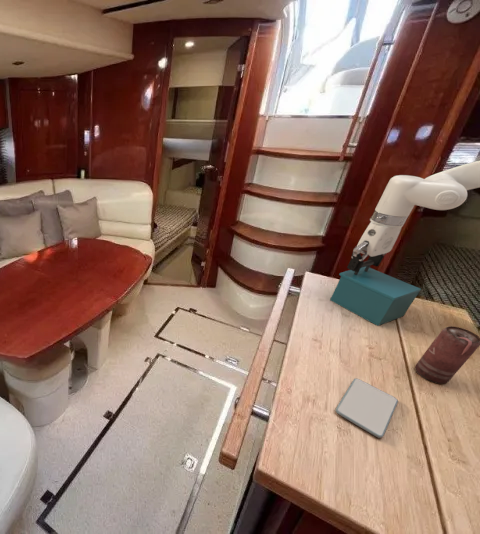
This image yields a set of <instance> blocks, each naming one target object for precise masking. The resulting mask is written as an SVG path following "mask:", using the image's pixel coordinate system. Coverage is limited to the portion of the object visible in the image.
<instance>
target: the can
mask: <svg viewBox="0 0 480 534" xmlns="http://www.w3.org/2000/svg"><path fill="white" fill-rule="evenodd" d="M479 347H480V337H479V336H478V335H477V334H476V333H474V332H472V331H471V330H468V329H465V328H462V327H458V326H454V325H453V326H451V325H450V326H447V327H444V328H442V329H441V330H440V332H439V333H438V334H437V336H436V337H435V338H434V340H433V341H432V342H431V343H430V345H429V346H428V348H427V349H426V350H425V352H424V353H423V354H422V355H421V357H420V358H419V360H418V361H417V363H416V364H415V365H414V370H415V372H416V373H417V374H418V375H419V376H420V377H421V378H423V379H425V380H426V381H429V382H432V383H434V384H440V385H441V384H447V383H449V382H450V381H451V379H452V378H453V377H454V376H455V375H456V374H457V373H458V372H459V370H460V369H461V368H462V367H463V366H464V364H466V362H467V361H468V360H469V359H470V358H471V356H473V354H474V353H475V352H476V351H477V350H478V349H479Z"/></svg>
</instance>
